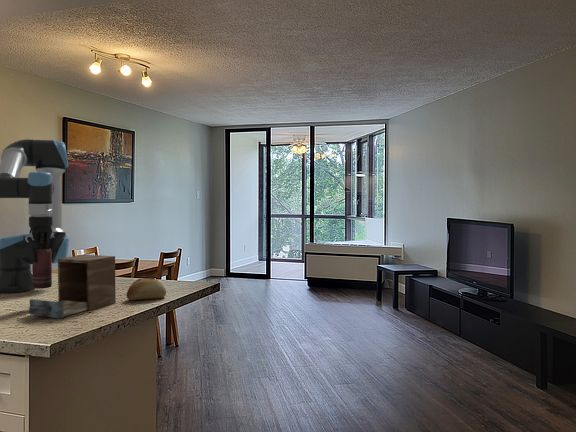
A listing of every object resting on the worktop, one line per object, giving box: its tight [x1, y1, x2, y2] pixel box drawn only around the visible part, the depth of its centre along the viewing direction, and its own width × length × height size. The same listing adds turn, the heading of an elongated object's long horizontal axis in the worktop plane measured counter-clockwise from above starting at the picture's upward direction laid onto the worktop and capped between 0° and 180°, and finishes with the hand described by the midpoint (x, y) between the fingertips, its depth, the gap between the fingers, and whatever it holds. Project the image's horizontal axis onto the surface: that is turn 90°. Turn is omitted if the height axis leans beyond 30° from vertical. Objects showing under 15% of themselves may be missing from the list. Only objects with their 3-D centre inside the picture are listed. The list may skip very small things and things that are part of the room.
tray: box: [28, 298, 88, 319], centre depth 159 cm, size 14×17×5 cm
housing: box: [57, 254, 117, 312], centre depth 172 cm, size 14×13×18 cm
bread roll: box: [126, 277, 167, 301], centre depth 184 cm, size 10×15×8 cm, turn 121°
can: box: [31, 248, 53, 290], centre depth 169 cm, size 6×6×14 cm
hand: (42, 281), depth 170 cm, fingers closed
